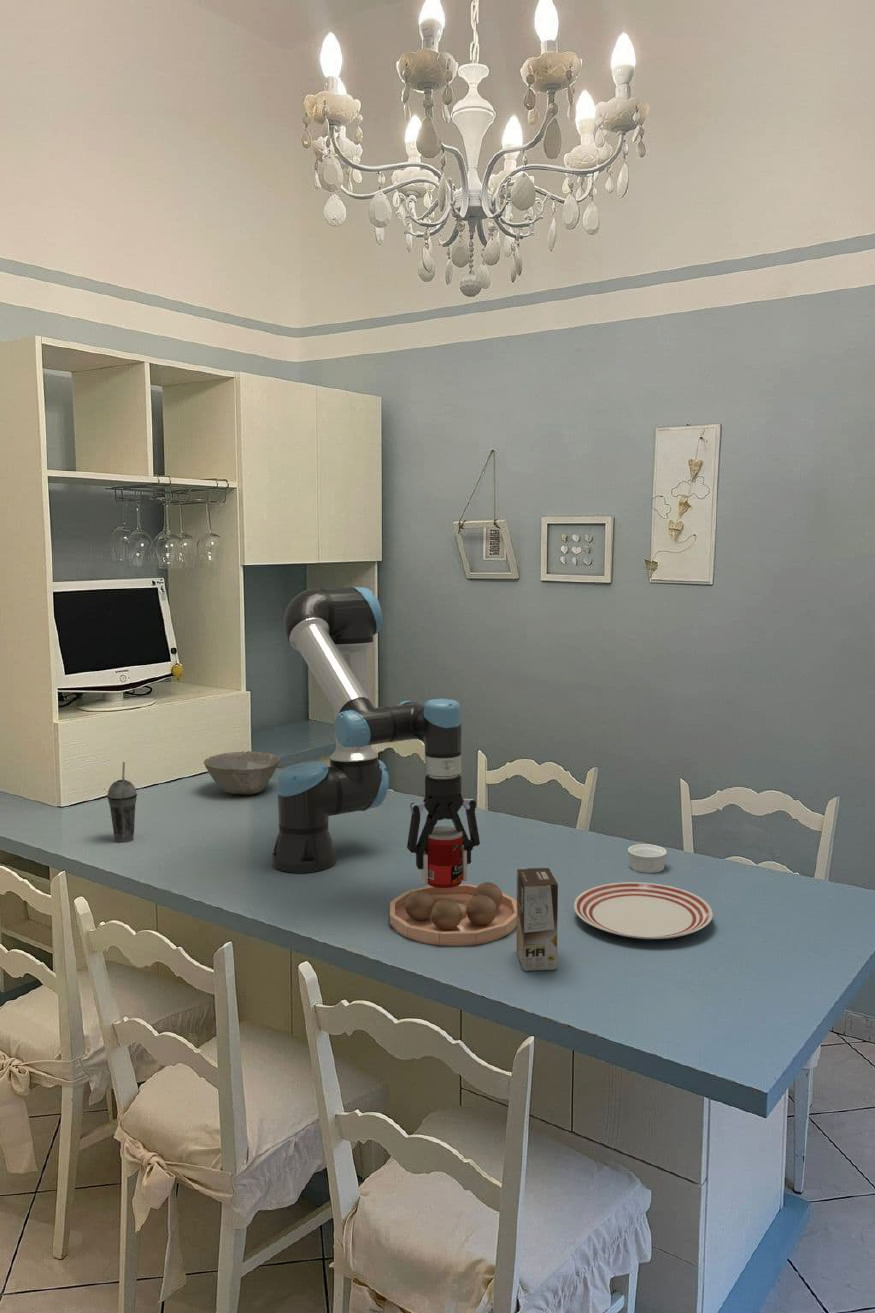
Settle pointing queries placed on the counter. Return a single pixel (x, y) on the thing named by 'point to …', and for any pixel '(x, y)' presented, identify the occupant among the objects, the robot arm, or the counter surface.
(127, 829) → the beverage cup
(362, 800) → the robot arm
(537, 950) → the coffee box
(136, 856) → the counter surface
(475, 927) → the tray
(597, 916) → the dinner plate
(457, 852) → the canned food
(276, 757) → the ceramic bowl
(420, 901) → the seated beads
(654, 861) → the ramekin
